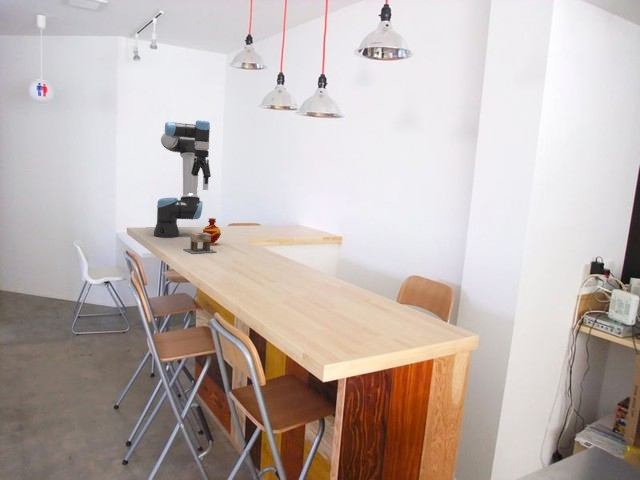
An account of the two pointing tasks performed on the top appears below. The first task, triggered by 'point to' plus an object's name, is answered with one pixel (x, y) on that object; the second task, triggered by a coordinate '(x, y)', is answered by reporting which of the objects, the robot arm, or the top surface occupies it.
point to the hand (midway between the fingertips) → (200, 188)
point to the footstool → (200, 238)
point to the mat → (199, 251)
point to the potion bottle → (212, 231)
